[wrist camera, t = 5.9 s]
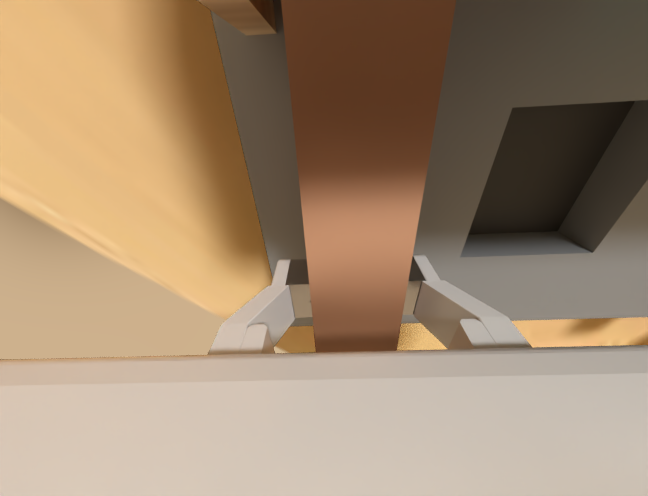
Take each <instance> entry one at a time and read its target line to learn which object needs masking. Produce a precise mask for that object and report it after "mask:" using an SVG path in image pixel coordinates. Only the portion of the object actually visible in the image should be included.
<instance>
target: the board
mask: <svg viewBox="0 0 648 496" xmlns="http://www.w3.org/2000/svg"><path fill="white" fill-rule="evenodd" d="M273 7H274V15H275V23H276V31H277V33H276V34H262V35H247V36H246V35H245V34H244V33H242V32H241V31H239V30H238V29H237V28H235V27H234V26H232V25H231V24H230V23H228V22H227V21H225V20H224V19H222V18H221V17H220V16H218V15H217V14H215V13H214V12H213V11H211V10H210V11H211V16H212V20H213V24H214V29H215V33H216V37H217V41H218V46H219V50H220V54H221V59H222V63H223V67H224V71H225V76H226V80H227V84H228V89H229V93H230V97H231V101H232V106H233V110H234V114H235V119H236V123H237V127H238V132H239V136H240V140H241V144H242V149H243V153H244V157H245V162H246V166H247V170H248V174H249V179H250V183H251V187H252V192H253V196H254V200H255V205H256V209H257V213H258V217H259V222H260V226H261V230H262V235H263V239H264V243H265V247H266V252H267V256H268V260H269V265H270V269H271V273H272V277H274V273H275V270H276V266H277V262H278V261H279V260H286V259H290V260H291V259H307V257H306V247H305V237H304V226H303V216H302V206H301V196H300V186H299V176H298V166H297V156H296V146H295V136H294V126H293V115H292V105H291V95H290V85H289V75H288V65H287V55H286V45H285V35H284V25H283V15H282V5H281V0H273ZM413 255H425V256H426V257H427V259H428V260H429V262H430V264H431V265H432V267H433V269H434V270H435V272H436V273H437V275H438V277H439V278H440V280H445V281H447V282H448V283H450V284H452V285H454V286H455V287H457V288H459V289H460V290H462V291H464V292H466V293H467V294H469V295H471V296H472V297H474V298H476V299H478V300H479V301H481V302H483V303H485V304H486V305H488V306H490V307H491V308H493V309H495V310H497V311H498V312H500V313H502V314H504V315H505V316H507V317H508V318H509V319H510V320H511V321H514V320H552V319H591V318H629V317H648V0H456V5H455V10H454V16H453V22H452V28H451V34H450V40H449V46H448V51H447V57H446V63H445V69H444V75H443V81H442V87H441V92H440V98H439V104H438V110H437V116H436V122H435V128H434V133H433V139H432V145H431V151H430V157H429V163H428V169H427V174H426V180H425V186H424V192H423V198H422V204H421V210H420V215H419V221H418V227H417V233H416V239H415V245H414V251H413ZM401 323H420V322H419V321H418V320H417V319H416V318H415V317H414V316H413V315H402V321H401ZM290 326H313V317H304V318H295V320H294V321H293V322H292V324H291V325H290Z"/></svg>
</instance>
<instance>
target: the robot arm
mask: <svg viewBox="0 0 648 496" xmlns="http://www.w3.org/2000/svg"><path fill="white" fill-rule="evenodd" d="M403 315H413V316H414V317H415V318H416V319H417V320H418V321H419V322H420V323H421V324H423V325H424V326H425V327H426V328H427V329H428V330H429V331H430V332H431V333H432V334H433V335H434V336H435V337H436V338H437V339H438V340H439V341H440V342H441V343H442V344H443V345H444V346H445V347H446V348H448V349H447V350H406V351H361V352H317V353H277V354H276V353H275V352H274V346H275V345H276V344H277V342H278V341H279V340H280V338H281V337H282V336H283V334H284V333H285V332H286V330H287V329H288V328H289V326H290V325H291V324H292V322H293V321H294V320H295V318H304V317H312V307H311V297H310V287H309V277H308V267H307V259H291V260H290V259H286V260H279V261H278V262H277V266H276V270H275V273H274V277H273V280H272V284H271V286H267V287H266V288H264V289H263V290H262V291H261V292H260V293H258V294H257V295H256V296H255V297H254V298H252V299H251V300H250V301H249V302H247V303H246V304H245V305H244V306H243V307H241V308H240V309H239V310H238V311H237V312H235V313H234V314H233V315H232V316H231V317H229V318H228V319H227V320H226V321H224V322H223V323H222V324H221V326H220V328H219V330H218V332H217V335H216V337H215V339H214V341H213V344H212V346H211V348H210V350H209V353H208V355H186V356H143V357H102V358H101V357H100V358H60V359H13V360H12V359H2V360H1V359H0V496H648V345H626V346H582V347H537V348H532V347H531V345H530V344H529V343H528V342H527V340H526V339H525V338H524V337H523V335H522V334H521V333H520V332H519V330H518V329H517V328H516V327H515V325H514V324H513V323H512V322H511V320H510V319H509V318H508V317H507V316H505V315H504V314H502V313H500V312H498V311H497V310H495V309H493V308H491V307H490V306H488V305H486V304H485V303H483V302H481V301H479V300H478V299H476V298H474V297H472V296H471V295H469V294H467V293H466V292H464V291H462V290H460V289H459V288H457V287H455V286H454V285H452V284H450V283H448V282H447V281H445V280H440V278H439V277H438V275H437V273H436V272H435V270H434V269H433V267H432V265H431V264H430V262H429V260H428V259H427V257H426V256H425V255H413V256H412V262H411V268H410V274H409V280H408V286H407V292H406V297H405V303H404V309H403Z"/></svg>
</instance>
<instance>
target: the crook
mask: <svg viewBox="0 0 648 496" xmlns="http://www.w3.org/2000/svg"><path fill="white" fill-rule="evenodd" d="M281 5H282V15H283V25H284V35H285V45H286V55H287V65H288V75H289V85H290V95H291V105H292V115H293V126H294V136H295V146H296V156H297V166H298V176H299V186H300V196H301V206H302V216H303V226H304V237H305V247H306V257H307V267H308V277H309V287H310V297H311V307H312V317H313V327H314V337H315V347H316V353H317V352H361V351H396V350H397V344H398V338H399V333H400V327H401V321H402V315H403V309H404V303H405V297H406V292H407V286H408V280H409V274H410V268H411V262H412V256H413V251H414V245H415V239H416V233H417V227H418V221H419V215H420V210H421V204H422V198H423V192H424V186H425V180H426V174H427V169H428V163H429V157H430V151H431V145H432V139H433V133H434V128H435V122H436V116H437V110H438V104H439V98H440V92H441V87H442V81H443V75H444V69H445V63H446V57H447V51H448V46H449V40H450V34H451V28H452V22H453V16H454V10H455V5H456V0H281Z"/></svg>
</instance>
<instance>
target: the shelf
mask: <svg viewBox="0 0 648 496" xmlns="http://www.w3.org/2000/svg"><path fill="white" fill-rule="evenodd" d="M197 1H198V2H200V3H201V4H203V5H204V6H206V7H207V8H208V9H210V10H211V11H213V12H214V13H215V14H217V15H218V16H220V17H221V18H222V19H224V20H225V21H227V22H228V23H230V24H231V25H232V26H234V27H235V28H237V29H238V30H239V31H241V32H242V33H244V34H245V35H246V36H247V35H262V34H276V33H277V31H276V23H275V15H274V7H273V0H197Z"/></svg>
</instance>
